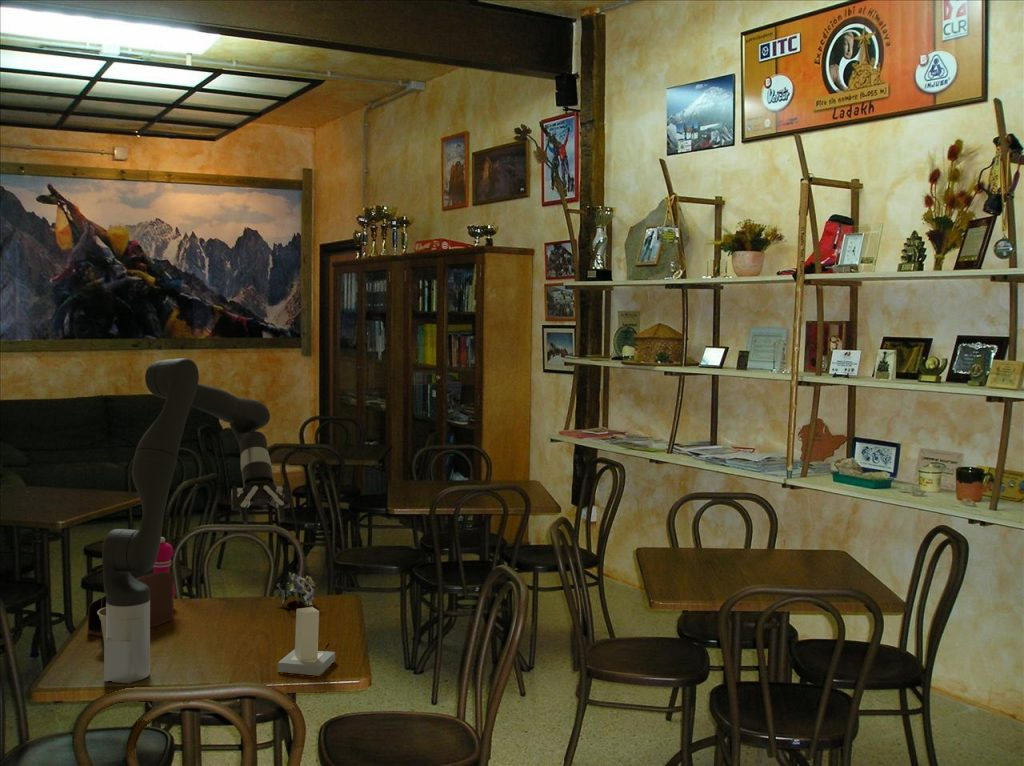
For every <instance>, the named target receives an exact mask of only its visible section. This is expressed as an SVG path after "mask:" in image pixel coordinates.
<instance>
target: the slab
mask: <svg viewBox="0 0 1024 766" xmlns="http://www.w3.org/2000/svg"><path fill="white" fill-rule="evenodd" d="M334 661H335V662H336V652H335V651H329V650H328V651H327V650H325V651H318V658H314V659H307V660H300V659H299V658H297V657H296V656H295V648H294V649H293V650H292V651H290V652H289V653H288V654H287V655H285V656H283V658H282V659H281V660H279V662H277V673H278V672H288V673H300V674H307V675H320V674H322V673H323V672H324V671H325V670H326V669H327V668H328V667H329V666H330V665H331V664H332V663H333V662H334ZM328 669H329V668H328ZM328 669H327V670H328ZM327 670H326V671H327ZM326 671H325V672H326ZM325 672H324V673H325ZM324 673H323V674H324ZM323 674H322V675H323Z"/></svg>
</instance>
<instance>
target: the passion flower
mask: <svg viewBox="0 0 1024 766" xmlns="http://www.w3.org/2000/svg"><path fill="white" fill-rule="evenodd" d="M288 576H289V578H290V579H291V581H292V582H291V584H290V582H286V586H285V587H284V589H282V588H281V583H279V582H278V583H277V584H276V587H277V588H278V590H280V591H279V593H278V594H277V595H276V597H274V598H275V599H274V600H278V599H279V598H280V597H282V596H283V598H282V600H281V601H282V602H281V605H282V604H283V605H284V603H285V602H286V601H288V599H289V598H290V597H293V598H295V597H296V596H297V599H298V598H299V599H301V600H300V601H301V603H302V604H303V606H304V607H305V608H308V606H309V605H312V606H313V603H312V601H313V600H315V598H314V596H315V592H316V591H315V588H316V587H317V586H316V582H315V581H314V580H313V579H312V576H311V575H309V576H308V575H306V576H305V577H303V576H302V575H300V576H299V575H297V573H291V572H289V571H288ZM313 587H315V588H313Z"/></svg>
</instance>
